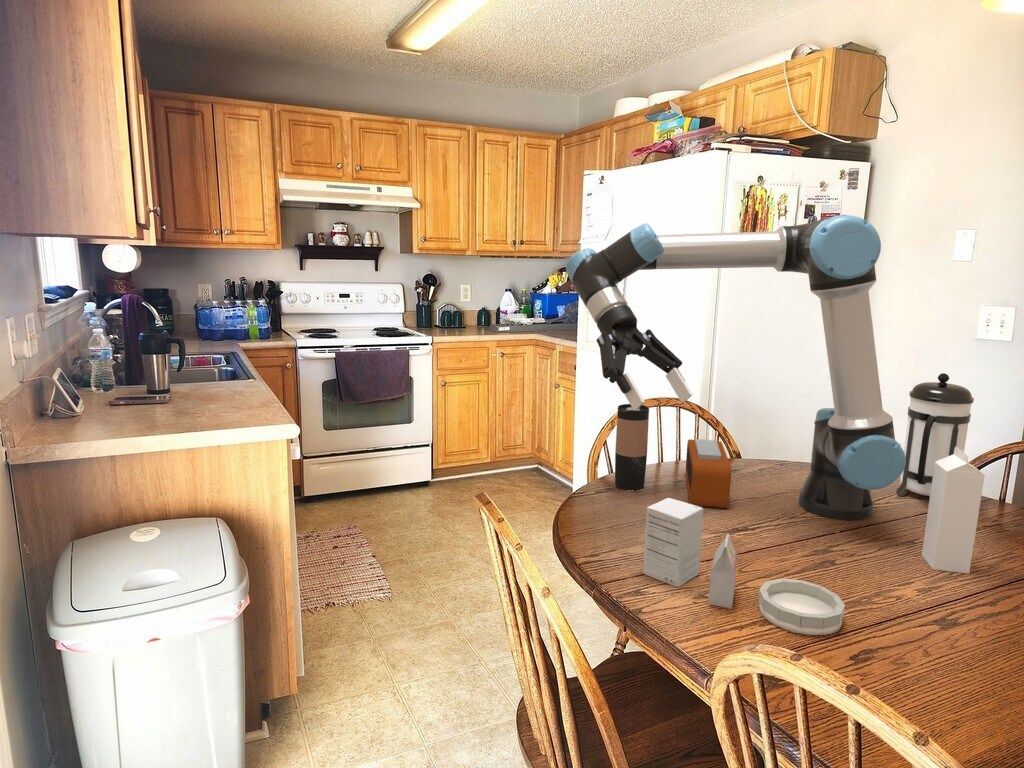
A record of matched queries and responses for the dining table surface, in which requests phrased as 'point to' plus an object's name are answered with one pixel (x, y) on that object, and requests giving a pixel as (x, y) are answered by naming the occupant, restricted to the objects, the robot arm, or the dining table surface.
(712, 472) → the alarm clock
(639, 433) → the travel mug
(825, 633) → the white faceted bowl
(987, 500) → the dining table surface
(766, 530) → the dining table surface
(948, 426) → the coffee press
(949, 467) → the milk
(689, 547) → the supplement box
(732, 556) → the white juice carton
